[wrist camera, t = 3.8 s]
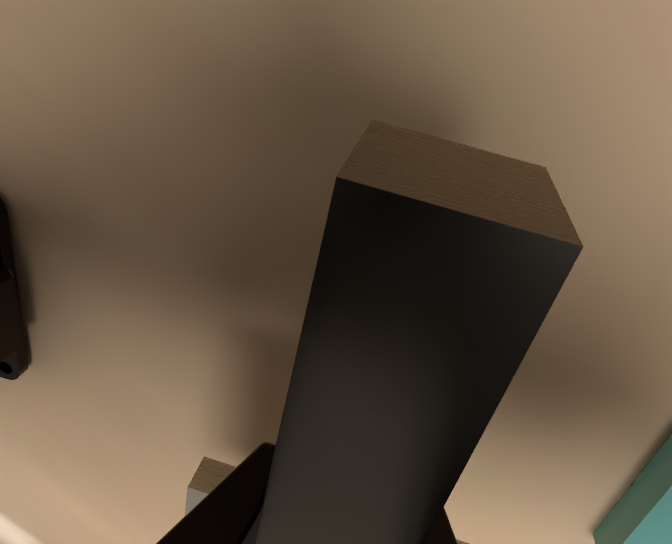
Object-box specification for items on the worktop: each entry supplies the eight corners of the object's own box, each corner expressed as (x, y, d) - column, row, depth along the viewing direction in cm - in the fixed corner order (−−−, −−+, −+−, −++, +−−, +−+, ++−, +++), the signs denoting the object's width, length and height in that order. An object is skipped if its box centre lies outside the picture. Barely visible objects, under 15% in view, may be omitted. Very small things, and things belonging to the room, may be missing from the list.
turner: (247, 85, 7) (161, 127, 5) (681, 204, 7) (778, 301, 5) (190, 575, 14) (143, 678, 12) (404, 650, 13) (394, 769, 11)
